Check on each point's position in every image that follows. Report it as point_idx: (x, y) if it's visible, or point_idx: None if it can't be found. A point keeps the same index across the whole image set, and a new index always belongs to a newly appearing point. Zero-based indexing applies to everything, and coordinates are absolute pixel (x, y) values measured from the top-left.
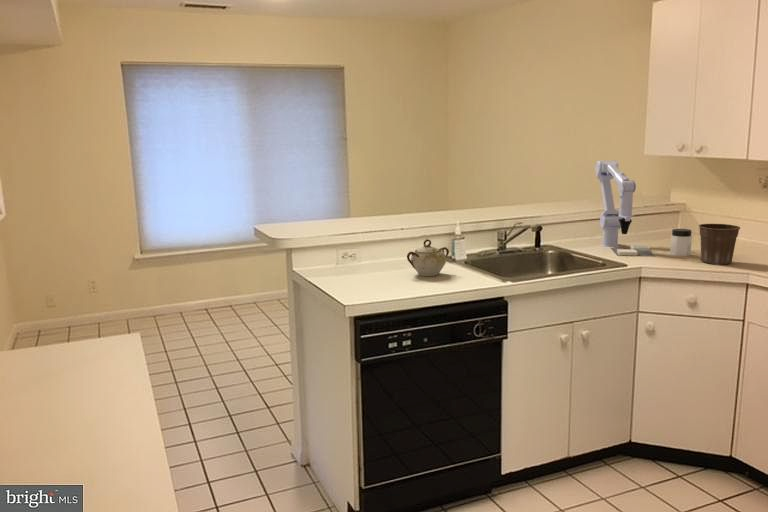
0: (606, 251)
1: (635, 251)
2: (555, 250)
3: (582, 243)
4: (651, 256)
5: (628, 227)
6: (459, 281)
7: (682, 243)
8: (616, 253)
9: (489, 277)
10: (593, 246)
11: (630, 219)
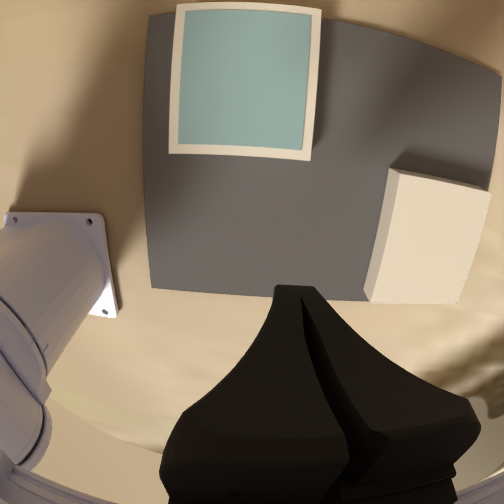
0: (262, 325)
1: (470, 198)
2: None
3: None
4: (499, 105)
5: (363, 343)
6: None
7: None
8: None
9: (487, 478)
10: (95, 347)
11: (345, 466)
